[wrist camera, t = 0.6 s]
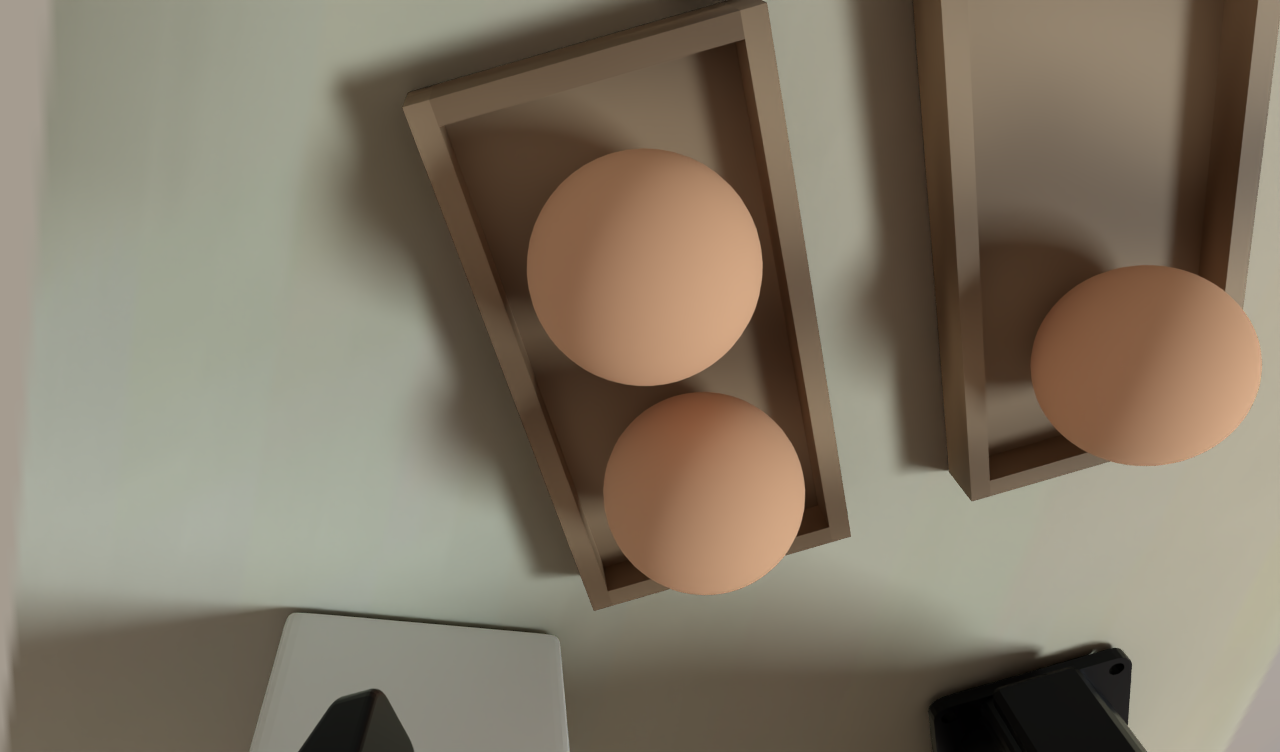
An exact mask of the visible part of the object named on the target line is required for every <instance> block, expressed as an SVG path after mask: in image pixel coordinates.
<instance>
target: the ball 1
mask: <svg viewBox="0 0 1280 752" xmlns="http://www.w3.org/2000/svg"><path fill="white" fill-rule="evenodd" d="M762 268H763V261H762V253H761V246H760V241H759V237H758V233H757V229H756V227H755V224H754V222H753V219H752V217H751V215H750V213H749V211H748V209H747V208H746V206H745V204H744V203H743V201H742V199H741V198H740V196H739V195H738V194H737V193H736V192H735V190H734V189H733V188H732V187H731V186H730V185H729V184H728V183H727V182H726V181H725V180H724V179H723V178H722V177H720V176H719V175H718V174H717V173H716V172H715V171H713V170H712V169H710V168H709V167H707V166H706V165H704V164H702V163H700V162H698V161H696V160H694V159H692V158H690V157H687V156H684V155H681V154H678V153H675V152H671V151H666V150H660V149H647V148H640V149H628V150H623V151H619V152H614V153H611V154H608V155H605V156H602V157H599V158H597V159H595V160H593V161H591V162H589V163H587V164H585V165H584V166H582V167H581V168H579V169H578V170H576V171H575V172H574V173H572V174H571V175H570V176H569V177H568V178H566V179H565V180H564V181H563V182H562V183H561V184H560V185H559V186H558V187H557V189H556V190H555V191H554V192H553V193H552V194H551V196H550V197H549V199H548V200H547V202H546V203H545V205H544V207H543V208H542V210H541V212H540V214H539V216H538V218H537V220H536V223H535V225H534V228H533V231H532V234H531V237H530V242H529V248H528V255H527V279H528V288H529V292H530V296H531V299H532V303H533V307H534V310H535V312H536V314H537V317H538V319H539V321H540V323H541V324H542V326H543V328H544V329H545V331H546V333H547V334H548V336H549V337H550V339H551V340H552V341H553V342H554V344H555V345H556V346H557V347H558V349H560V350H561V351H562V352H563V353H564V354H565V355H566V356H567V357H568V358H569V359H571V360H572V361H573V362H575V363H576V364H577V365H579V366H580V367H582V368H583V369H585V370H586V371H588V372H590V373H592V374H594V375H596V376H599V377H601V378H604V379H607V380H609V381H613V382H617V383H621V384H626V385H634V386H655V385H664V384H668V383H673V382H677V381H680V380H683V379H686V378H688V377H691V376H693V375H695V374H697V373H699V372H701V371H703V370H704V369H706V368H708V367H709V366H711V365H712V364H714V363H715V362H716V361H718V360H719V359H720V358H721V357H723V356H724V355H725V354H726V353H727V352H728V351H729V350H730V349H731V348H732V347H733V345H734V344H735V343H736V341H737V340H738V339H739V338H740V336H741V335H742V333H743V331H744V330H745V328H746V327H747V325H748V323H749V322H750V319H751V317H752V315H753V313H754V310H755V308H756V305H757V301H758V298H759V294H760V287H761V281H762Z"/></svg>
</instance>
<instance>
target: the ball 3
mask: <svg viewBox="0 0 1280 752" xmlns="http://www.w3.org/2000/svg"><path fill="white" fill-rule="evenodd" d="M1030 367H1031V378H1032V385H1033V388H1034V392H1035V395H1036V398H1037V400H1038V403H1039V405H1040V407H1041V409H1042V410H1043V412H1044V414H1045V416H1046V417H1047V418H1048V420H1049V421H1050V422H1051V424H1052V425H1053V426H1054V427H1055V428H1056V429H1057V430H1058V431H1059V432H1060V433H1061V434H1062V435H1063V436H1064V437H1065V438H1066V439H1068V440H1069V441H1070V442H1071V443H1073V444H1074V445H1076V446H1077V447H1079V448H1081V449H1082V450H1084V451H1086V452H1088V453H1090V454H1092V455H1094V456H1097V457H1099V458H1102V459H1105V460H1108V461H1112V462H1115V463H1120V464H1125V465H1134V466H1157V465H1165V464H1171V463H1176V462H1180V461H1184V460H1186V459H1189V458H1192V457H1194V456H1197V455H1199V454H1201V453H1203V452H1205V451H1207V450H1209V449H1211V448H1213V447H1214V446H1216V445H1217V444H1219V443H1220V442H1222V441H1223V440H1224V439H1225V438H1227V437H1228V436H1229V435H1230V434H1231V433H1232V432H1233V431H1234V430H1235V429H1236V428H1237V427H1238V426H1239V425H1240V423H1241V422H1242V421H1243V419H1244V418H1245V417H1246V415H1247V414H1248V412H1249V410H1250V408H1251V406H1252V404H1253V402H1254V400H1255V398H1256V395H1257V392H1258V390H1259V385H1260V381H1261V372H1262V358H1261V350H1260V345H1259V341H1258V337H1257V335H1256V332H1255V330H1254V327H1253V325H1252V323H1251V321H1250V320H1249V318H1248V317H1247V315H1246V314H1245V312H1244V311H1243V310H1242V308H1241V307H1240V306H1239V304H1238V303H1237V302H1236V301H1235V300H1234V299H1233V298H1232V297H1231V296H1230V295H1228V294H1227V293H1226V292H1225V291H1224V290H1222V289H1221V288H1219V287H1218V286H1217V285H1215V284H1214V283H1212V282H1210V281H1208V280H1206V279H1205V278H1202V277H1200V276H1198V275H1196V274H1193V273H1190V272H1187V271H1184V270H1181V269H1177V268H1172V267H1166V266H1156V265H1138V266H1129V267H1121V268H1117V269H1113V270H1110V271H1107V272H1104V273H1101V274H1098V275H1095V276H1093V277H1091V278H1089V279H1087V280H1085V281H1083V282H1082V283H1080V284H1078V285H1077V286H1075V287H1074V288H1073V289H1071V290H1070V291H1069V292H1067V293H1066V294H1065V295H1064V296H1063V297H1062V298H1061V299H1060V300H1059V301H1058V302H1057V303H1056V304H1055V305H1054V306H1053V307H1052V308H1051V310H1050V311H1049V312H1048V314H1047V315H1046V317H1045V318H1044V320H1043V322H1042V323H1041V325H1040V327H1039V329H1038V331H1037V334H1036V337H1035V340H1034V343H1033V348H1032V354H1031V364H1030Z"/></svg>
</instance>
